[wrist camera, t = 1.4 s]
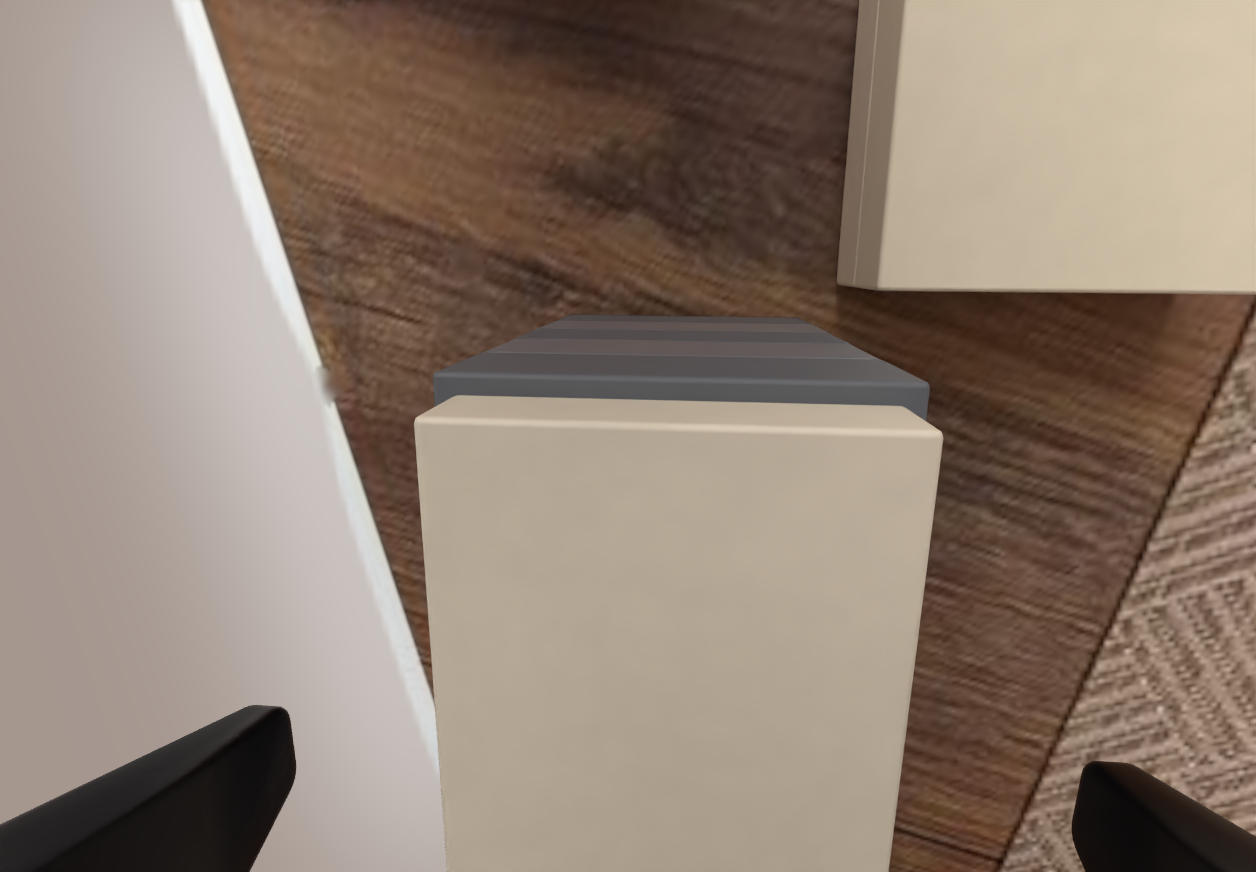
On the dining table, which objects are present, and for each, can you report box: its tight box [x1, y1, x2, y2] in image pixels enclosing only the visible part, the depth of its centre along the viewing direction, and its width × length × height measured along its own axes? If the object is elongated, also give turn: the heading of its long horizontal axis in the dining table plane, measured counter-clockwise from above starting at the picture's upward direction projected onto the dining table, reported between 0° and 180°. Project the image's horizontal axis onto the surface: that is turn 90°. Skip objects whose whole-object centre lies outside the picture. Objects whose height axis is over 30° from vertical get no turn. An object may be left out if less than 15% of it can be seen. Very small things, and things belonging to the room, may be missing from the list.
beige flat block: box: [414, 395, 943, 872], centre depth 8 cm, size 8×5×1 cm, turn 0°
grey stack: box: [433, 315, 930, 421], centre depth 13 cm, size 8×6×9 cm, turn 0°
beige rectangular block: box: [837, 0, 1256, 295], centre depth 13 cm, size 6×8×4 cm
